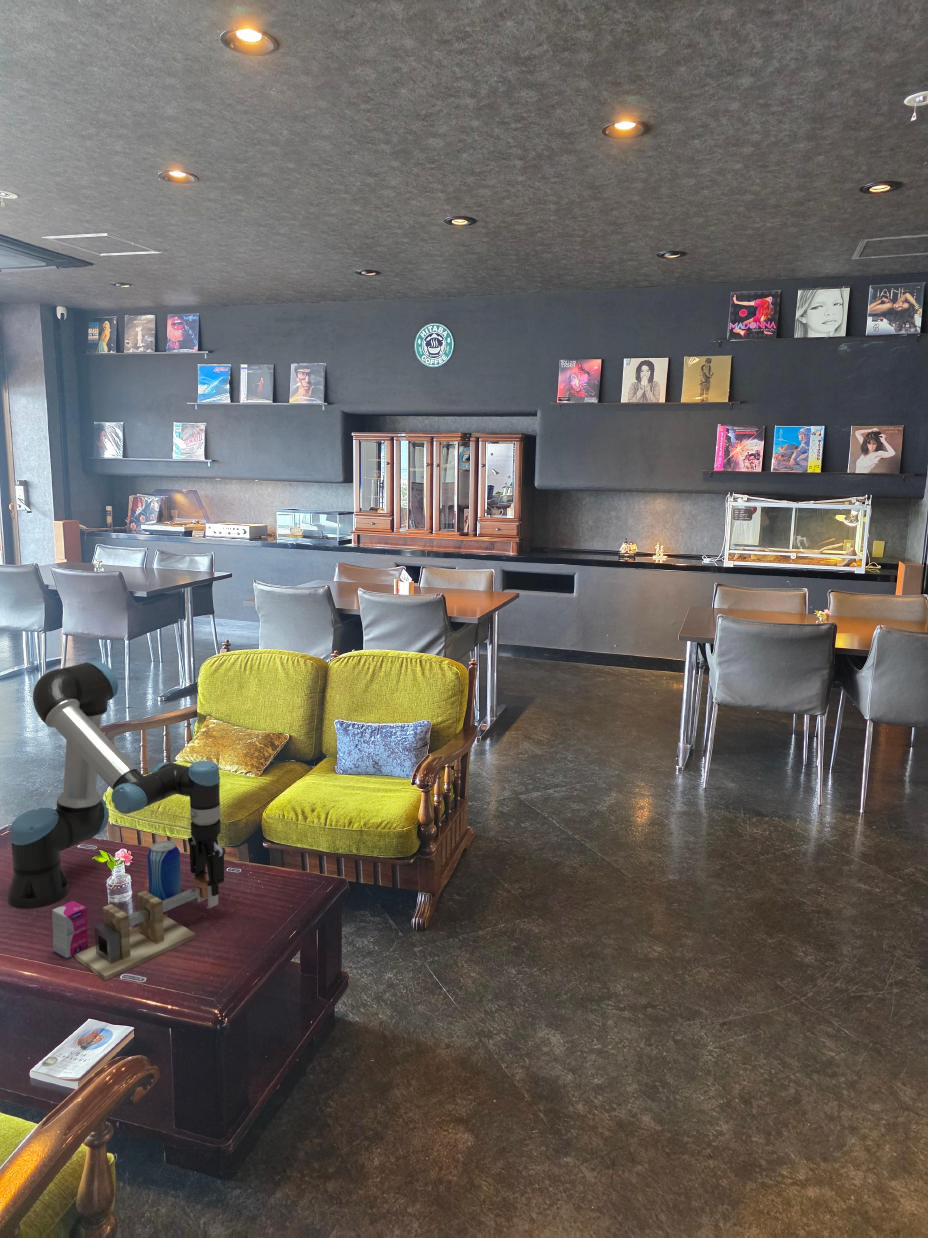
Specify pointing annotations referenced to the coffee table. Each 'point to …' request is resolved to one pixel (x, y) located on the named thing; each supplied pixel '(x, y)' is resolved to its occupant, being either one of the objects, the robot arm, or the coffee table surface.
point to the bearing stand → (137, 938)
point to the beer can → (164, 870)
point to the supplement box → (69, 929)
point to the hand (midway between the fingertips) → (207, 902)
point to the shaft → (175, 900)
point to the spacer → (107, 943)
